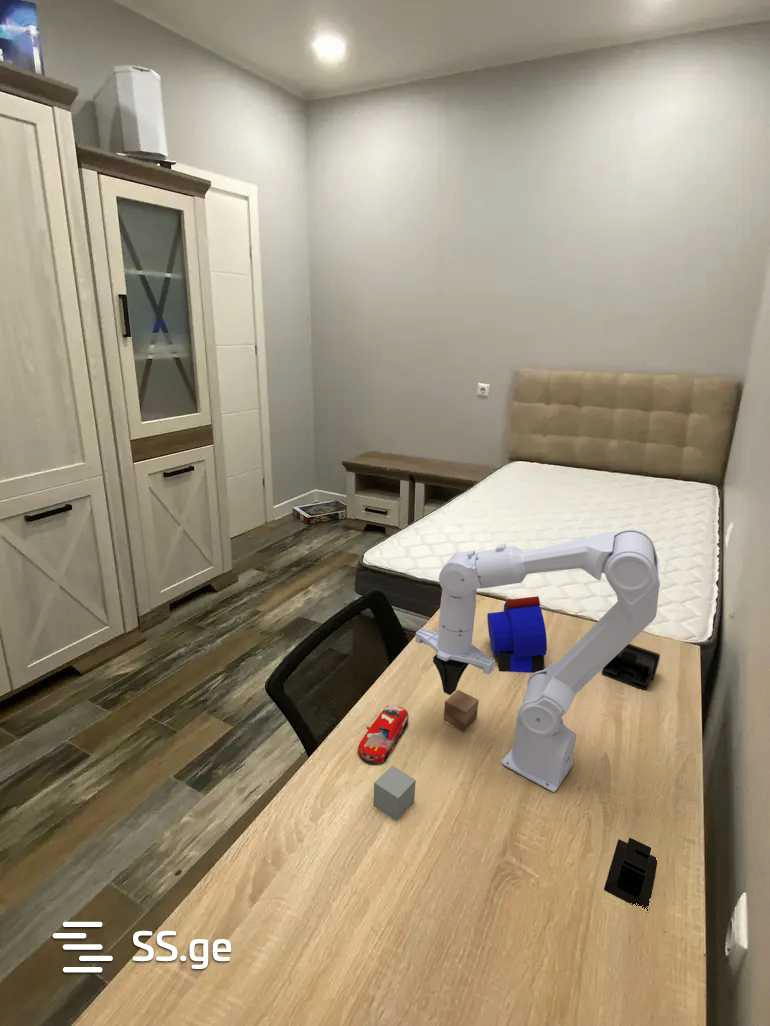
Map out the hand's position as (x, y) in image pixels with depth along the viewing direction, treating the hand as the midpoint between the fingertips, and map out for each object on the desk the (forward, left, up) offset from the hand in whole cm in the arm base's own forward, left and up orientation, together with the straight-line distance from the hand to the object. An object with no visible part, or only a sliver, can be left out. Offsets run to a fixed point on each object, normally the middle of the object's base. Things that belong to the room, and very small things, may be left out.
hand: (449, 690), depth 98 cm
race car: (+8, +8, -10) cm, 15 cm away
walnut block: (0, -5, -10) cm, 11 cm away
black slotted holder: (-20, -41, -10) cm, 47 cm away
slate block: (-2, +18, -10) cm, 20 cm away
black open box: (-34, +6, -10) cm, 36 cm away
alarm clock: (+2, -31, -10) cm, 33 cm away
